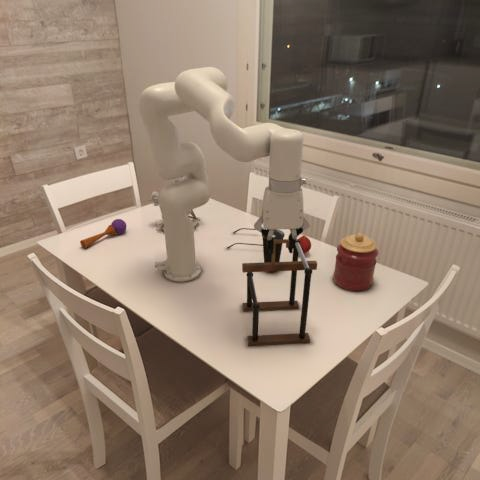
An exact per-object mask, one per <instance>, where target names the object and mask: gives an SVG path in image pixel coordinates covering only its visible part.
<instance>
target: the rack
mask: <svg viewBox="0 0 480 480" xmlns="http://www.w3.org/2000/svg"><path fill="white" fill-rule="evenodd" d="M298 239H299V238H297V239H295V249H293V252H292V260H291V261H299V258H300V261H302V263H303V266H304V268H305V270H303V271H304V280H303V290H302V302H301V311H300V312H301V313H300V323H299V331H298V332H296V333H277V334H259V323H260V322H259V321H260V320H259V319H260V312H263V311H264V312H265V311H287V310H299V309H300V305H299V301H298V300H296V290H297V289H296V288H297V276H298V270H296V271H290V273H291V274H290V284H289V285H290V288H289V297H288V298H289V300H278V301H276V300H275V301H258V297H257V293H256V292H257V291H256V289H255V283H254V272H246V302H242V306H241V307H242V312H252V331H251V333H252V334H251V335H247V337H246V338H247V346H248V347H255V346H257V347H258V346H275V345H297V344H298V345H299V344H310V343H311V338H310V335H309V332H307V331H306V330H307V321H308V320H307V319H308V309H309V301H310V293H311V280H312V274H313V270H312V269H311V268H309V266H308V263H307V261H308V260H307V259H306V256H305V254H303V251H302V249H301V246H300V241H299V240H298Z"/></svg>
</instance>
